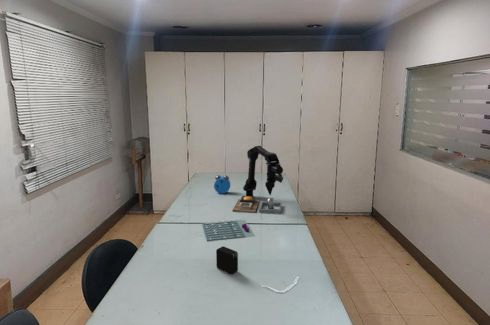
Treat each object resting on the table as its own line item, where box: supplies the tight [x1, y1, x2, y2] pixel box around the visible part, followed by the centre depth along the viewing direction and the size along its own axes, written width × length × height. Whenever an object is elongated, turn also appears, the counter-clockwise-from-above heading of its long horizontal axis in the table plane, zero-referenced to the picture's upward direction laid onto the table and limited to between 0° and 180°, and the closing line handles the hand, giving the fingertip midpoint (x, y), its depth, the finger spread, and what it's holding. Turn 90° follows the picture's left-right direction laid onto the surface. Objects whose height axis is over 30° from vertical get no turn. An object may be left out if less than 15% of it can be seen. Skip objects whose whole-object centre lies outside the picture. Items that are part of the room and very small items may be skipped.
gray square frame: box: [258, 201, 283, 214], centre depth 236 cm, size 16×15×2 cm
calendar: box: [201, 219, 256, 242], centre depth 202 cm, size 27×28×2 cm
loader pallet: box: [232, 195, 260, 214], centre depth 241 cm, size 24×16×4 cm, turn 171°
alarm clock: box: [213, 175, 231, 195], centre depth 272 cm, size 13×6×15 cm, turn 86°
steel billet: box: [267, 197, 275, 210], centre depth 235 cm, size 4×4×8 cm
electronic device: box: [215, 245, 239, 275], centre depth 155 cm, size 4×10×10 cm, turn 51°
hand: (270, 192), depth 234 cm, fingers open, 9 cm apart
